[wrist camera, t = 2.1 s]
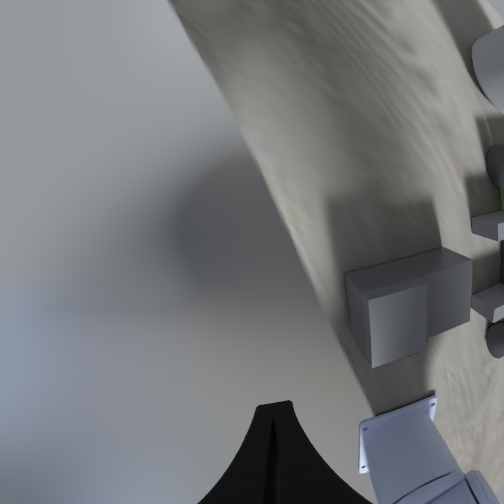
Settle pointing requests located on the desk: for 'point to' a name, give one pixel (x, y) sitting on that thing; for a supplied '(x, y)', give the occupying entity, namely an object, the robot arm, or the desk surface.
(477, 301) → the deck
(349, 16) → the desk surface
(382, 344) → the grey rectangular box
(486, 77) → the can
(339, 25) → the desk surface
